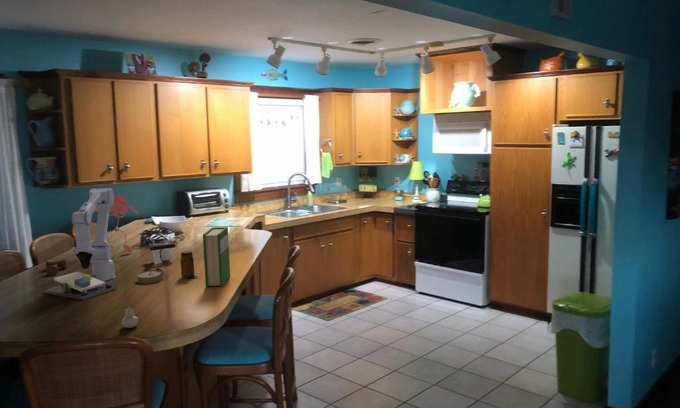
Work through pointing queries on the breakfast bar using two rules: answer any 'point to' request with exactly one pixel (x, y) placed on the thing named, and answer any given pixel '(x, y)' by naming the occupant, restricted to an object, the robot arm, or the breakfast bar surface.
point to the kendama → (55, 266)
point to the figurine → (119, 207)
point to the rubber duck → (129, 318)
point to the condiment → (187, 266)
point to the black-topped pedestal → (161, 250)
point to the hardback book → (216, 256)
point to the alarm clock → (150, 276)
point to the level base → (73, 293)
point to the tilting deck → (77, 276)
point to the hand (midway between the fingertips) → (85, 268)
